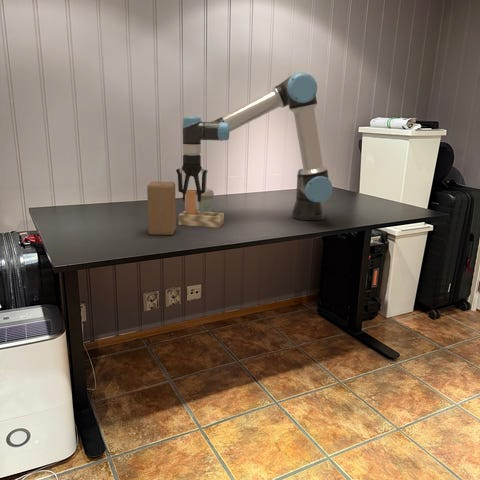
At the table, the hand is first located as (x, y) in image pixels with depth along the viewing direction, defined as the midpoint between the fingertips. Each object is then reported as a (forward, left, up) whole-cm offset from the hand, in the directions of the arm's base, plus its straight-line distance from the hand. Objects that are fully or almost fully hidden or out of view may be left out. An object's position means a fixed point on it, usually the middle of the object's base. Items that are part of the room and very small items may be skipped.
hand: (192, 208), depth 204 cm
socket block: (-4, 0, -7) cm, 8 cm away
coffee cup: (-1, -17, -7) cm, 19 cm away
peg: (0, 0, -4) cm, 4 cm away
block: (+7, +18, -7) cm, 21 cm away
